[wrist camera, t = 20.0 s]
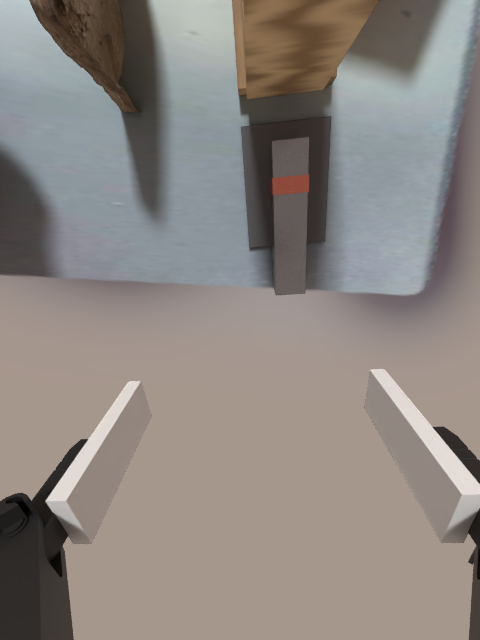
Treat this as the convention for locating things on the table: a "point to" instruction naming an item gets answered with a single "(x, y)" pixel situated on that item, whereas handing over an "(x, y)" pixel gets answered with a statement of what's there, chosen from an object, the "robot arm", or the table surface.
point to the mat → (258, 175)
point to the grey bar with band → (289, 213)
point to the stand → (293, 42)
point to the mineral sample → (89, 39)
